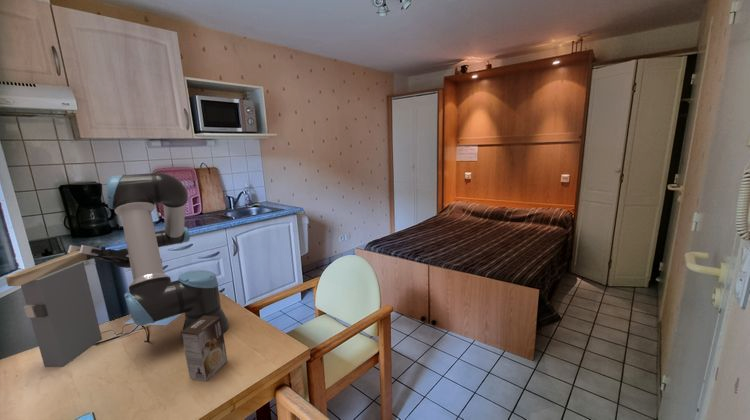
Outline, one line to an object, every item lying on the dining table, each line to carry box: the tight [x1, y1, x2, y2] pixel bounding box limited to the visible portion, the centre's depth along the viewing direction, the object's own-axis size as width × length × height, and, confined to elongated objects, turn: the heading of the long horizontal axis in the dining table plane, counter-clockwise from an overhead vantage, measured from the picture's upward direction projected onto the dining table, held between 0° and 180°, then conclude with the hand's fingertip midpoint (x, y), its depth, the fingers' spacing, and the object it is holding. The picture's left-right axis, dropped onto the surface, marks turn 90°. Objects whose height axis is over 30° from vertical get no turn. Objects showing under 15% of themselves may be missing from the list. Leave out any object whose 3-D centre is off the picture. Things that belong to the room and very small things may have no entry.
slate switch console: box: [20, 261, 103, 368], centre depth 100 cm, size 6×15×30 cm, turn 179°
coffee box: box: [180, 315, 228, 382], centre depth 93 cm, size 9×6×16 cm
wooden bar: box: [5, 244, 100, 287], centre depth 99 cm, size 3×26×3 cm, turn 179°
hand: (75, 249), depth 105 cm, fingers closed on wooden bar, 3 cm apart
